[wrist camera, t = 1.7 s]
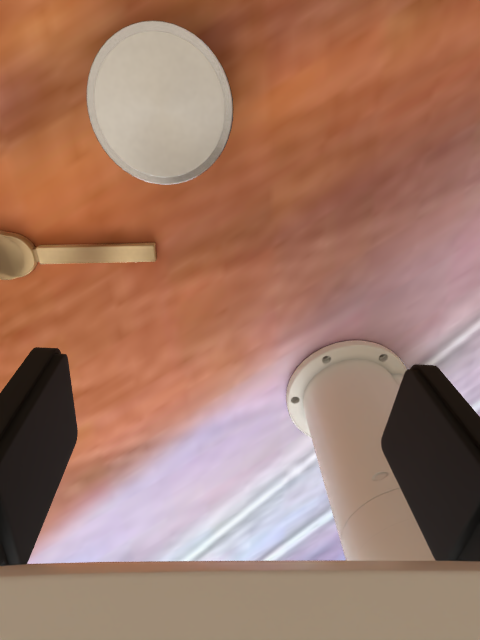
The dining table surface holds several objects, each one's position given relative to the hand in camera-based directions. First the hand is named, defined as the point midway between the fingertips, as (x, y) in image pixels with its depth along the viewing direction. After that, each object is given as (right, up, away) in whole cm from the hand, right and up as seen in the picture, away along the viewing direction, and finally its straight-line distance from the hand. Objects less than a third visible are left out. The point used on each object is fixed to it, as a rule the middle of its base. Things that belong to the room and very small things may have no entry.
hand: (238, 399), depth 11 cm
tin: (-5, +17, +18) cm, 25 cm away
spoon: (-15, +8, +22) cm, 28 cm away
